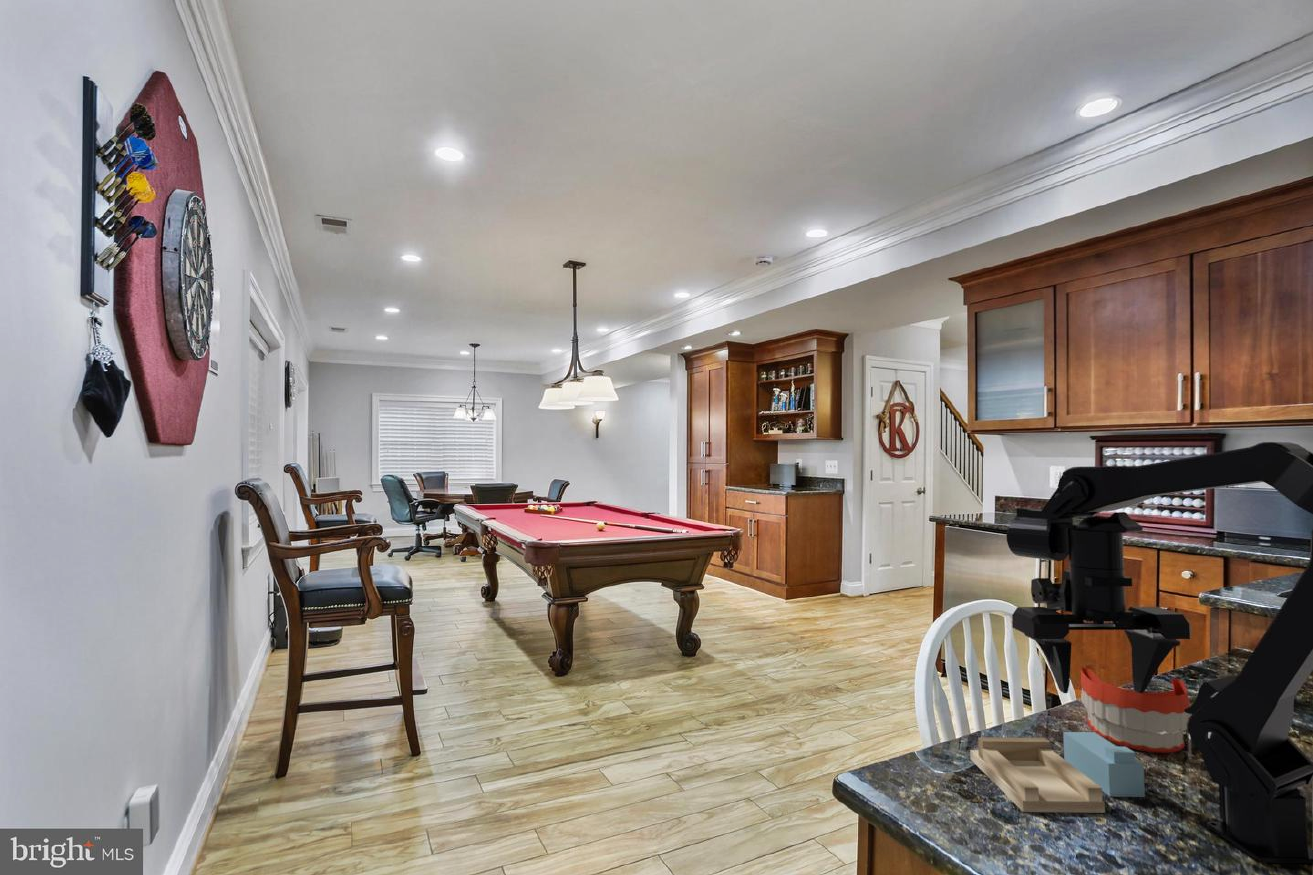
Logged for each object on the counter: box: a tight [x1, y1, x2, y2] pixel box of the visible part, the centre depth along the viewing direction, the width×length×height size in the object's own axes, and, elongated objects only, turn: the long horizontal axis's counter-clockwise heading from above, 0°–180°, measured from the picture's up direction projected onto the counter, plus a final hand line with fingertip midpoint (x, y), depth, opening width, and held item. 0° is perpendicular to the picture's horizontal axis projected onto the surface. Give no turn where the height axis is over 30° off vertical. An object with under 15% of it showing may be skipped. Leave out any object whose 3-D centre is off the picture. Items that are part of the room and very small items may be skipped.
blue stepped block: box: [1063, 731, 1146, 798], centre depth 80 cm, size 9×4×5 cm, turn 178°
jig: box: [969, 736, 1106, 814], centre depth 79 cm, size 13×9×4 cm
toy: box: [1080, 667, 1191, 754], centre depth 91 cm, size 12×10×8 cm
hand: (1101, 692), depth 81 cm, fingers open, 9 cm apart
